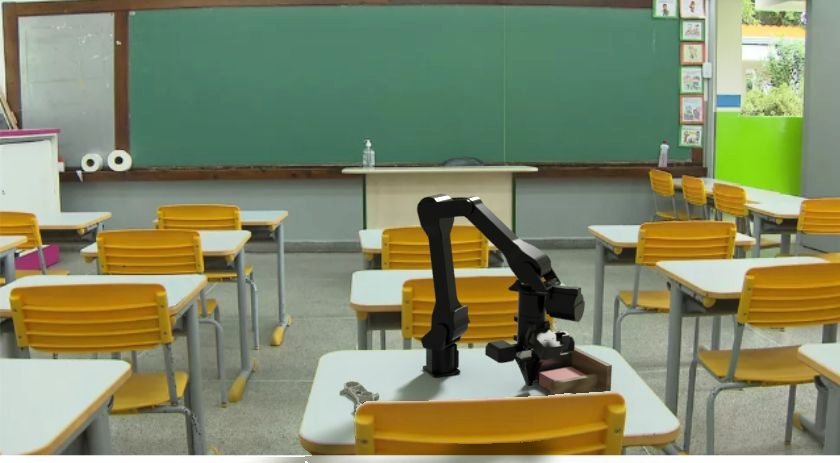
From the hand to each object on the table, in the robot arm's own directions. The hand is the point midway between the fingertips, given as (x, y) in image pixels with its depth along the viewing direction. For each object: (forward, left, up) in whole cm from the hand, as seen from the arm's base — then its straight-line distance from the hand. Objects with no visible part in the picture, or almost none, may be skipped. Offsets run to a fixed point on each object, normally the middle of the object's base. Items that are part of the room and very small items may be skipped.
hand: (529, 385), depth 158 cm
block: (+8, -1, -1) cm, 8 cm away
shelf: (+8, 0, -1) cm, 8 cm away
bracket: (-34, +10, -2) cm, 35 cm away
